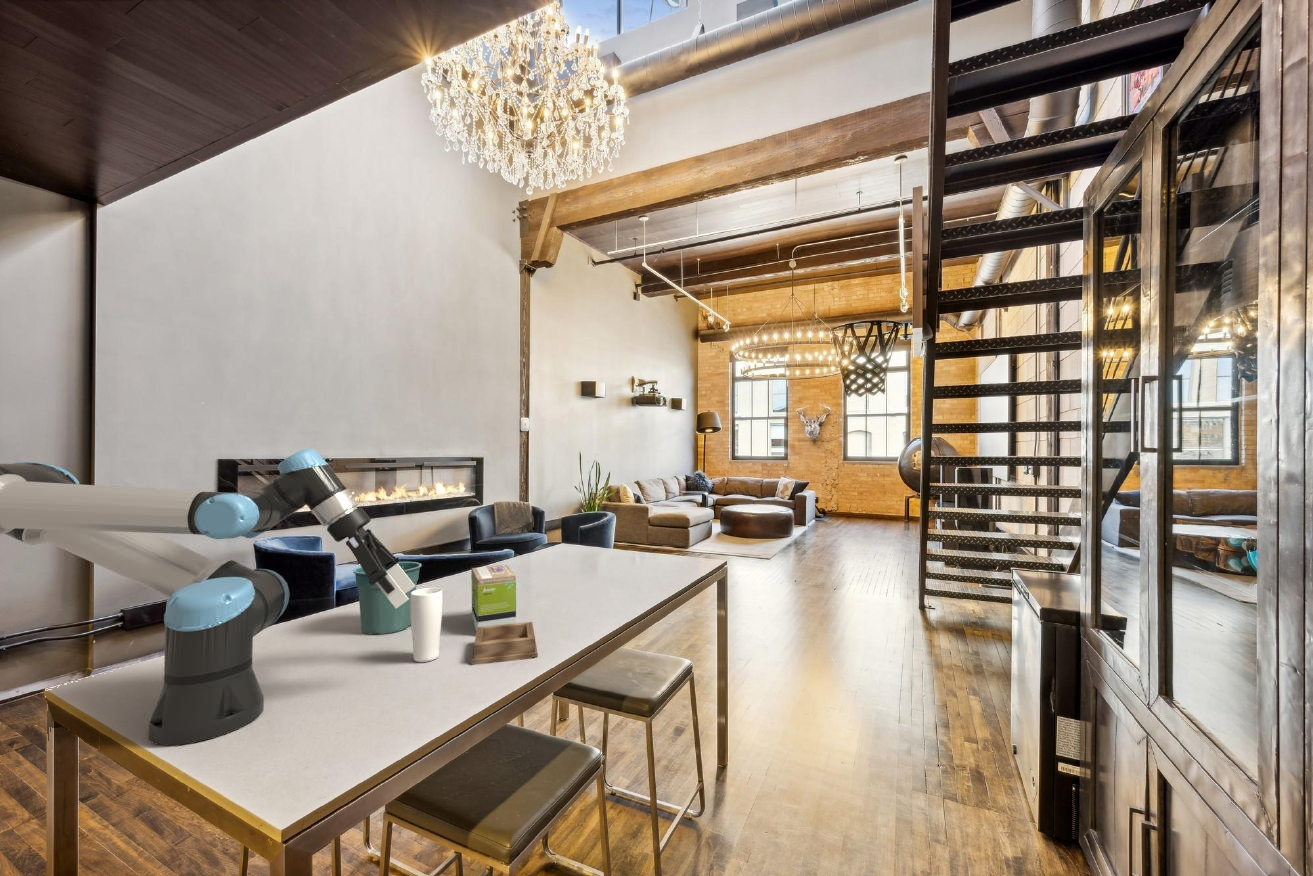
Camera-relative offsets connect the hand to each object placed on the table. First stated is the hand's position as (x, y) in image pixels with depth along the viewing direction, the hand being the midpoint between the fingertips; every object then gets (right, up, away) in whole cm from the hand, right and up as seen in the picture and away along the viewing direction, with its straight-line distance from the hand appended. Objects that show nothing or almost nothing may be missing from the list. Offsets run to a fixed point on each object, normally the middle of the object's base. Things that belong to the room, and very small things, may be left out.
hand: (406, 596), depth 113 cm
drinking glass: (+1, -16, +7) cm, 17 cm away
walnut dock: (+18, -16, +11) cm, 26 cm away
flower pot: (-19, -17, +29) cm, 38 cm away
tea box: (+9, -17, +30) cm, 35 cm away
